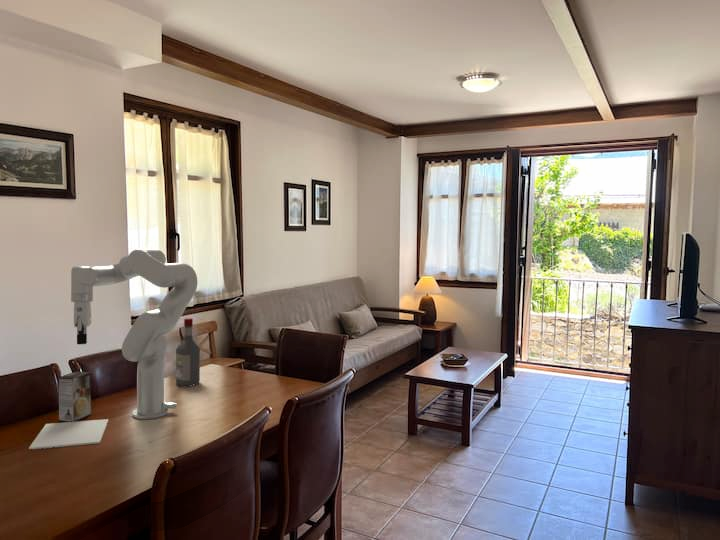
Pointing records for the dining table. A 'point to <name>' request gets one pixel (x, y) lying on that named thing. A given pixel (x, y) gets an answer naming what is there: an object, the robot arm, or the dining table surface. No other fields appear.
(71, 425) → the mat
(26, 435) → the dining table surface
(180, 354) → the liquor
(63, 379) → the coffee box
